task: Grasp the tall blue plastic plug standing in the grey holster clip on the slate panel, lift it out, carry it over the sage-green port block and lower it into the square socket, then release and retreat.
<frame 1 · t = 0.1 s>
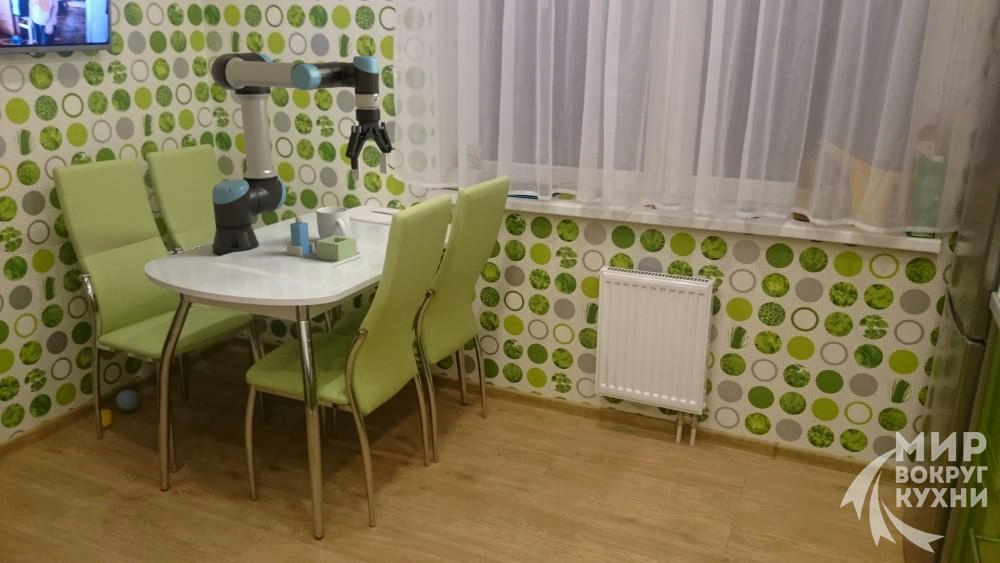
hand: (370, 176, 255), 28 cm above the table, fingers open, 13 cm apart
panel: (323, 258, 267), on the table
plug: (301, 252, 267), point 1 cm above the table, touching panel
mug: (335, 247, 281), on the table
port: (337, 256, 264), resting on panel
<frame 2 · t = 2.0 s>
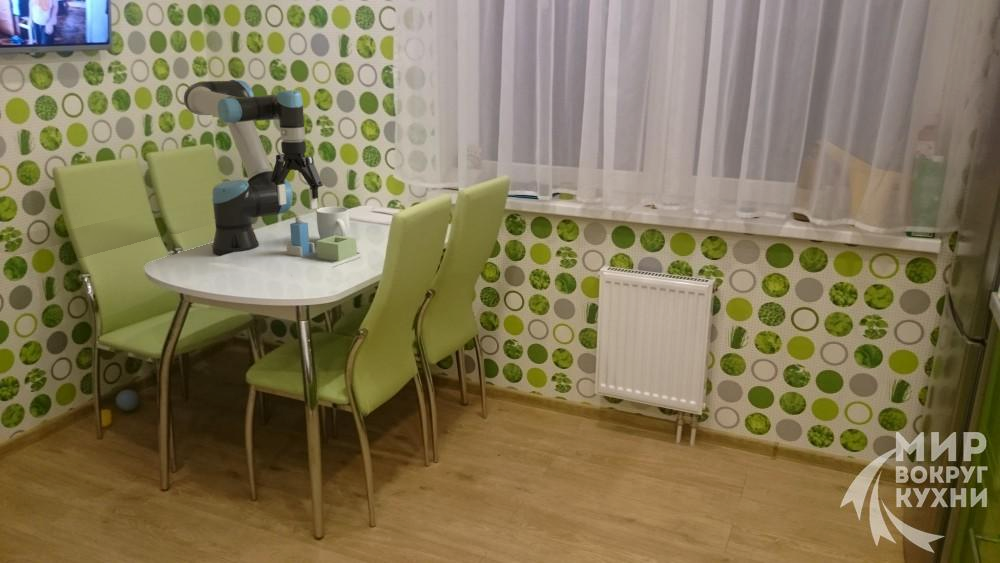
hand: (298, 206, 263), 17 cm above the table, fingers open, 13 cm apart
nothing on the table moved.
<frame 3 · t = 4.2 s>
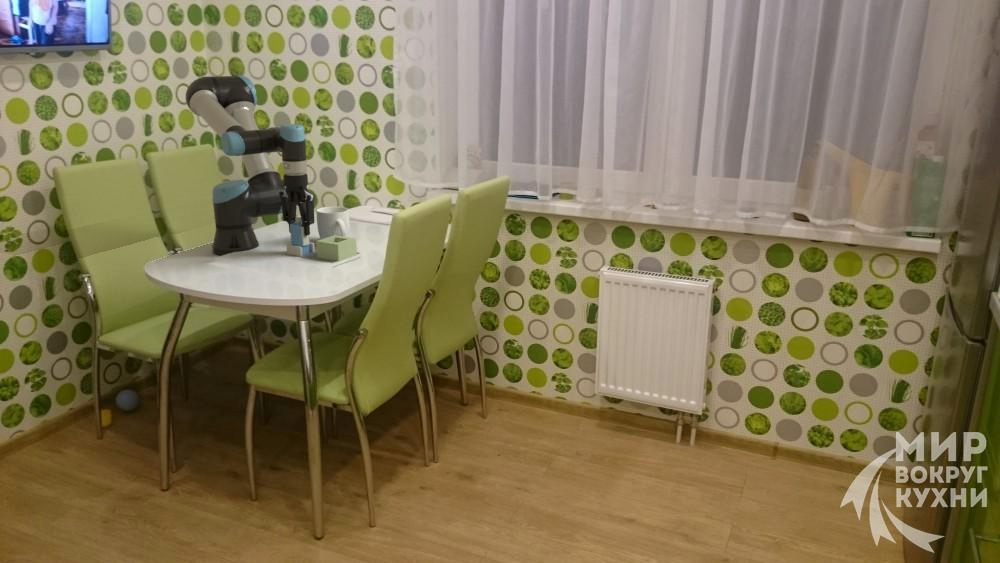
hand: (300, 243, 267), 5 cm above the table, fingers closed on plug, 4 cm apart
plug: (301, 252, 267), point 1 cm above the table, touching gripper, panel
everything else where it was.
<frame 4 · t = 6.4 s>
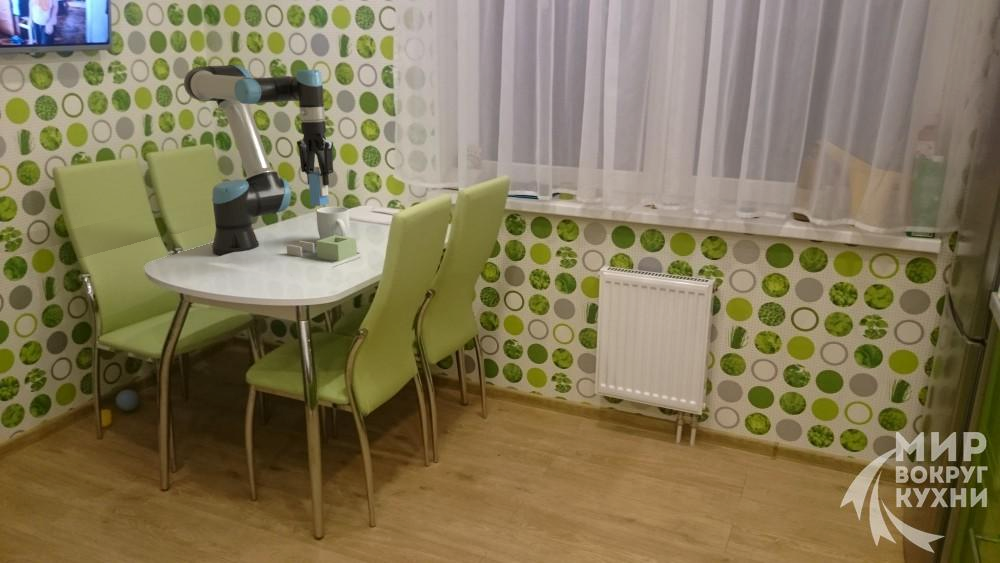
hand: (319, 194, 259), 22 cm above the table, fingers closed on plug, 4 cm apart
plug: (319, 204, 259), point 19 cm above the table, touching gripper
everything else where it was.
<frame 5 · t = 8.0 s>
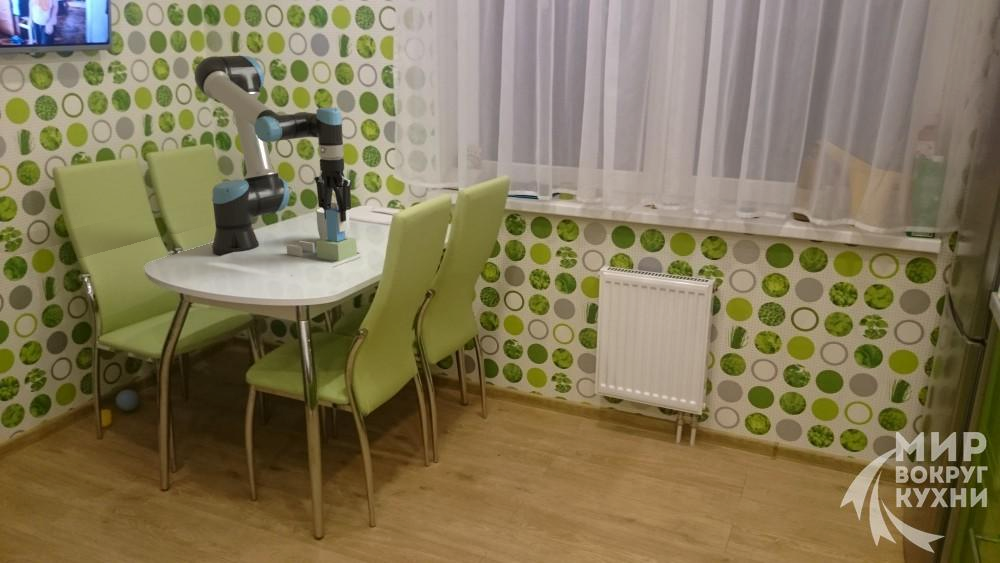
hand: (336, 230, 261), 10 cm above the table, fingers closed on plug, 4 cm apart
plug: (336, 239, 262), point 7 cm above the table, touching gripper
everything else where it was.
when the fingers open (8 cm above the table, at t = 9.0 s): plug drops 3 cm, resting on panel.
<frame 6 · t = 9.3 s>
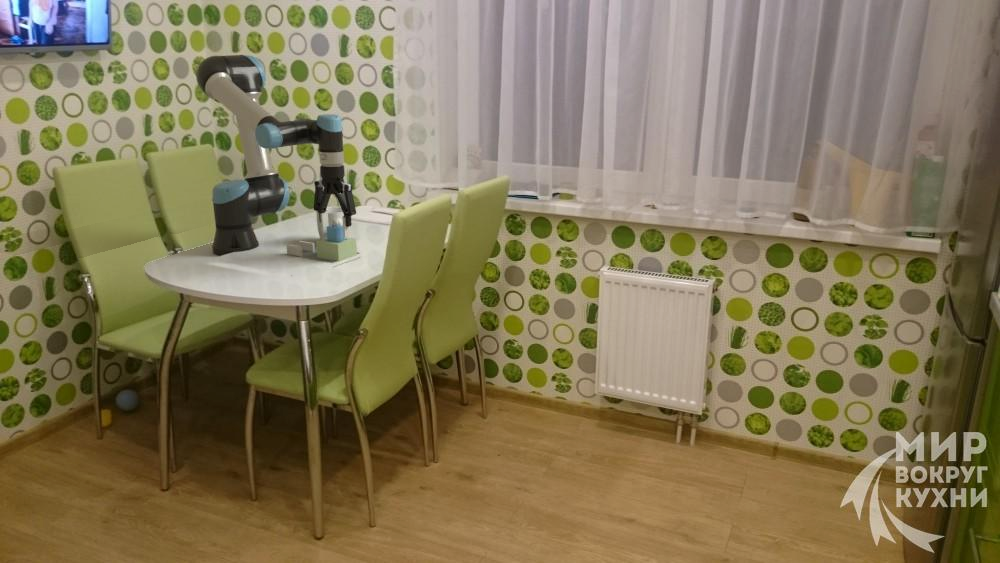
hand: (336, 234, 262), 9 cm above the table, fingers open, 8 cm apart
plug: (337, 256, 264), point 2 cm above the table, touching panel
everything else where it was.
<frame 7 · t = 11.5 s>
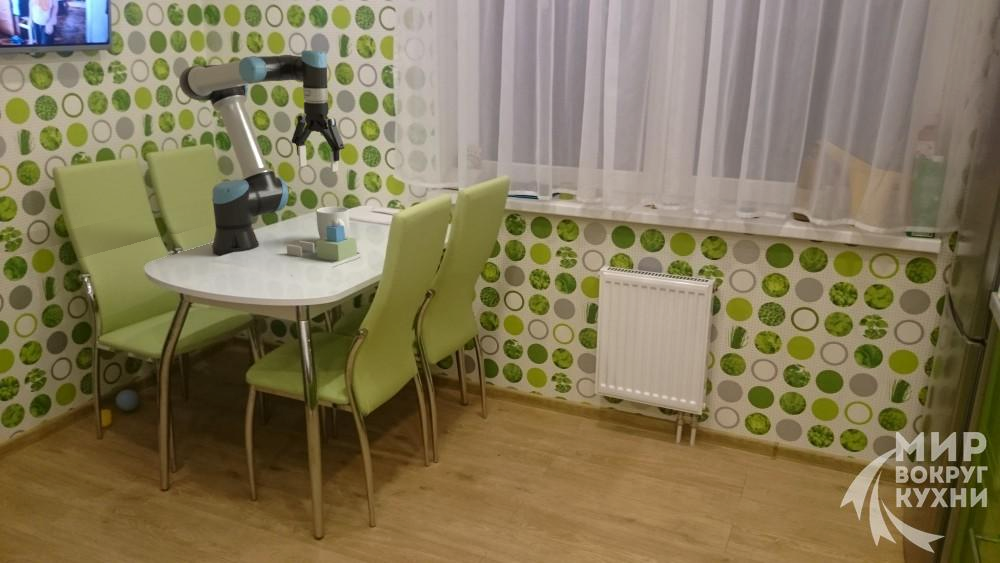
hand: (318, 168, 261), 29 cm above the table, fingers open, 13 cm apart
nothing on the table moved.
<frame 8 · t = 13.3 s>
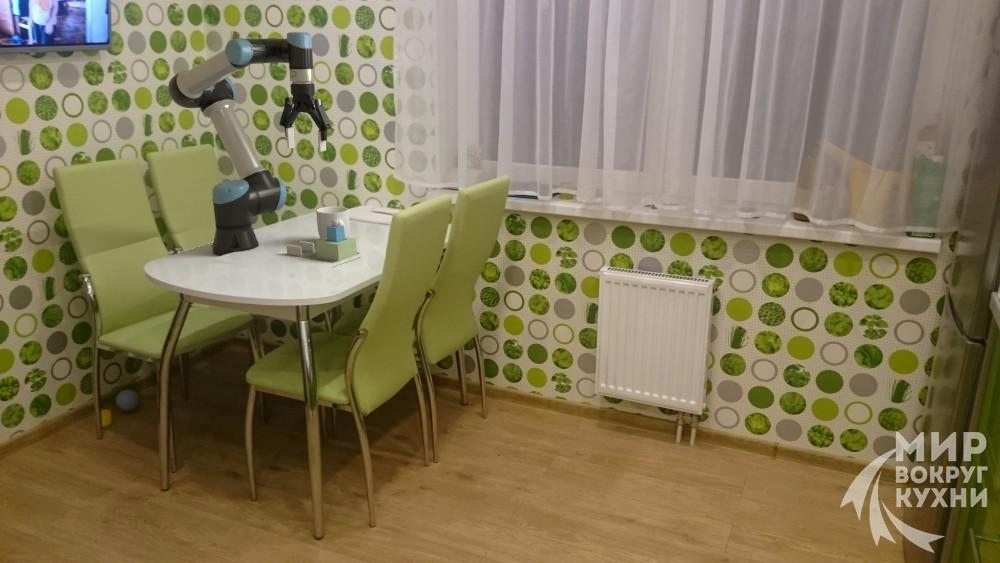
hand: (306, 149, 264), 35 cm above the table, fingers open, 13 cm apart
nothing on the table moved.
at the end: plug 0.1 cm off-centre on the port, point 0.0 cm above the port's base; plug tilted 0°; the gripper is holding nothing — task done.
